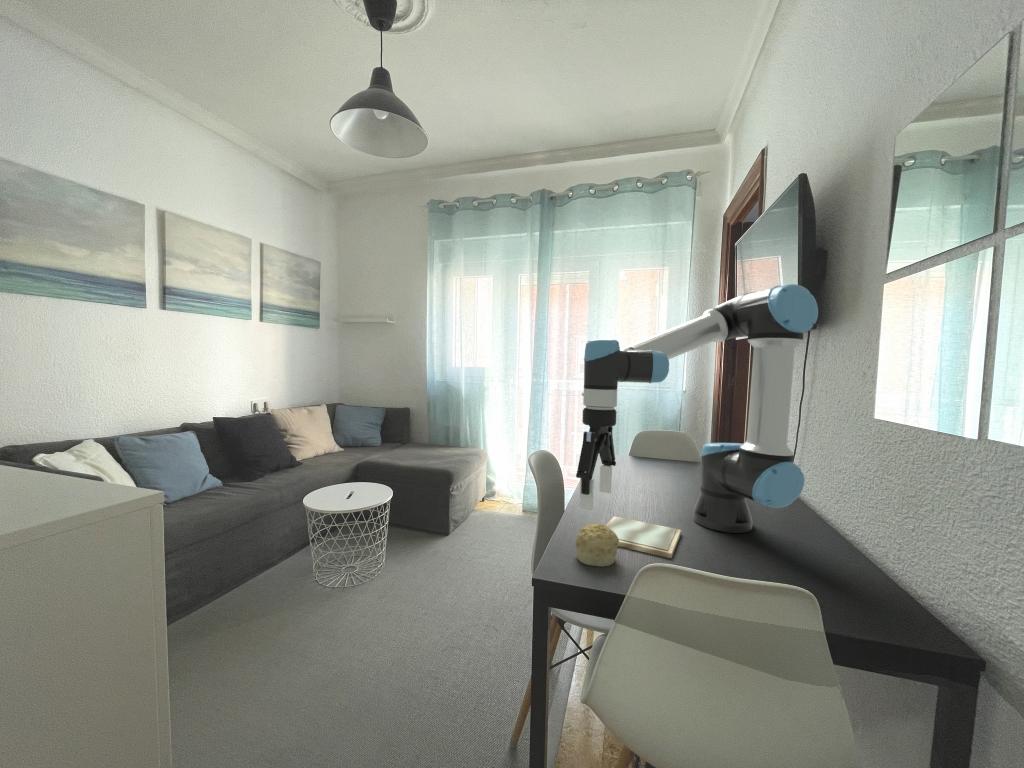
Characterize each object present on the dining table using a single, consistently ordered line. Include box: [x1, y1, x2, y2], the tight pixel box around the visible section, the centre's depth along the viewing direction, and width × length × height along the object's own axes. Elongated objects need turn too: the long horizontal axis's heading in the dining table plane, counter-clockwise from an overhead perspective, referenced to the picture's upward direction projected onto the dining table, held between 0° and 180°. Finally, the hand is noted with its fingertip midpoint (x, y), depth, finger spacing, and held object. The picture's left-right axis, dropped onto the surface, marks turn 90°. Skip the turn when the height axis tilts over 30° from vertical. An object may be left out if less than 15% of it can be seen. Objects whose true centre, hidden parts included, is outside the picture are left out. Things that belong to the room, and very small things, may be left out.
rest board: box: [605, 516, 682, 559], centre depth 104 cm, size 18×16×1 cm
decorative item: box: [575, 523, 619, 567], centre depth 92 cm, size 10×10×10 cm
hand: (596, 499), depth 92 cm, fingers open, 13 cm apart
